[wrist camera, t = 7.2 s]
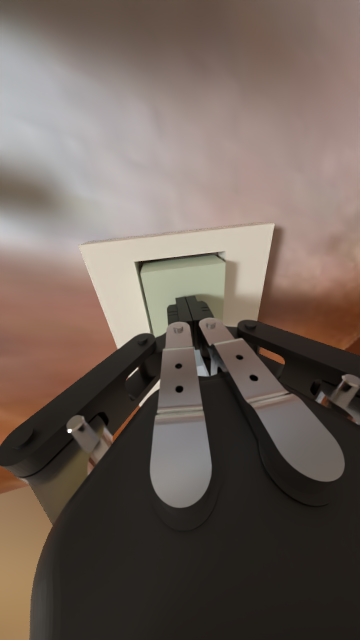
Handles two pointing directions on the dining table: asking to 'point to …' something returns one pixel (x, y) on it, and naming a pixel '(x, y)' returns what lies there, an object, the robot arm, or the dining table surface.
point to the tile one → (182, 286)
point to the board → (124, 253)
